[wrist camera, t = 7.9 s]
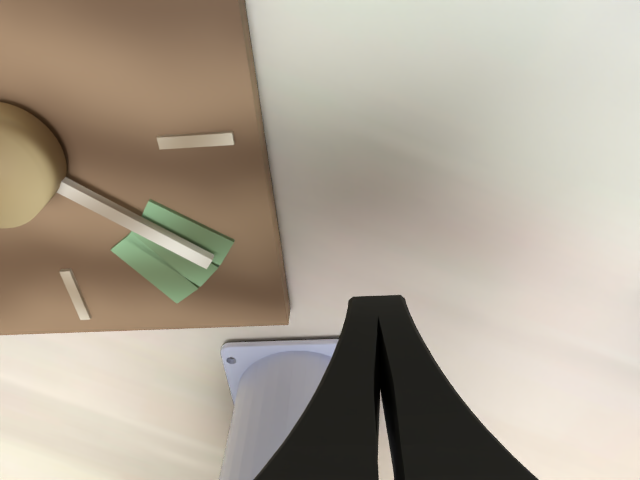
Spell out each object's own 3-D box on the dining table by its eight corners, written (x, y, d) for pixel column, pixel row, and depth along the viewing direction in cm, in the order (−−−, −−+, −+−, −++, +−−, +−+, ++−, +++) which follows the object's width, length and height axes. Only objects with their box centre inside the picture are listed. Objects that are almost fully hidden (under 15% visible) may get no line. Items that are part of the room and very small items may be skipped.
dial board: (290, 308, 28) (288, 327, 26) (-77, 322, 29) (-95, 341, 28) (217, -185, 17) (207, -191, 15) (-370, -122, 18) (-418, -122, 17)
